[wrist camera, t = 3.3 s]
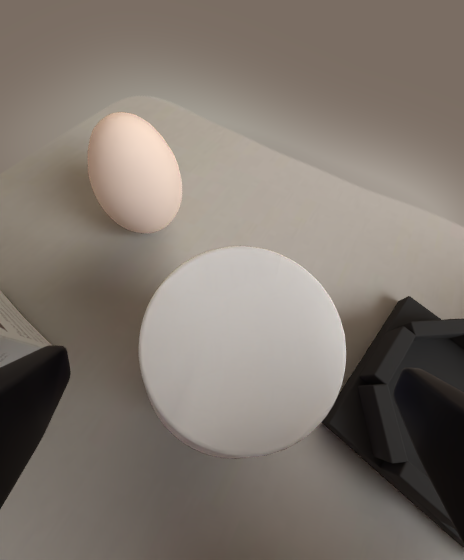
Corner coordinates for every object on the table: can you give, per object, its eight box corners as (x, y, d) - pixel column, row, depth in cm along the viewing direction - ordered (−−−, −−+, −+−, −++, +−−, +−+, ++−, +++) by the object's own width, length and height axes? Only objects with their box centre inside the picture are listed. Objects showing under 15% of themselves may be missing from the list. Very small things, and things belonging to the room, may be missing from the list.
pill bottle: (216, 301, 17) (226, 188, 8) (295, 363, 16) (415, 317, 7) (148, 381, 15) (50, 357, 6) (233, 457, 14) (281, 577, 5)
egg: (119, 258, 17) (62, 170, 11) (110, 198, 19) (55, 88, 12) (193, 243, 18) (184, 151, 11) (178, 186, 20) (162, 77, 13)
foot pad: (479, 562, 13) (538, 598, 11) (321, 421, 15) (342, 426, 12) (535, 401, 16) (590, 402, 14) (398, 300, 18) (426, 286, 16)
